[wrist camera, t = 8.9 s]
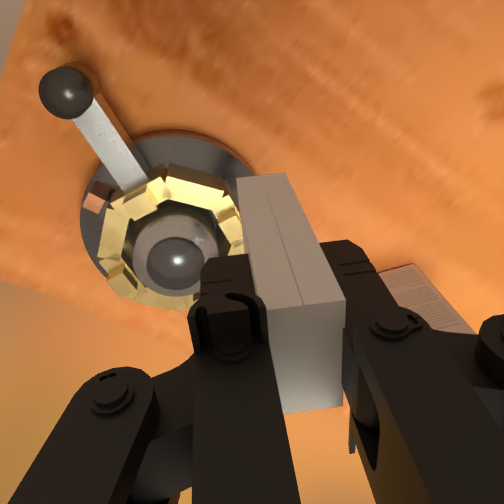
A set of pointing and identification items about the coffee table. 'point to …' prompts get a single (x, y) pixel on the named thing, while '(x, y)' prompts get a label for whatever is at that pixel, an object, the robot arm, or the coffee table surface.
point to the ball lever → (134, 182)
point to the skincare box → (423, 299)
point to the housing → (167, 213)
